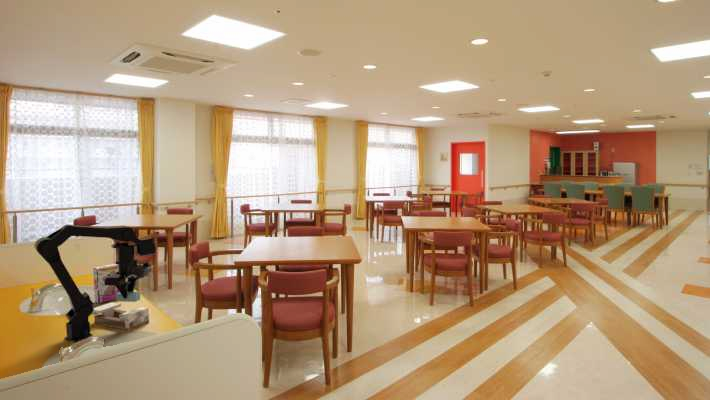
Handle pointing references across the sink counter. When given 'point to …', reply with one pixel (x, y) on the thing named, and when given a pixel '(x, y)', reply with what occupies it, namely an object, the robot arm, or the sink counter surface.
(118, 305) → the sliding cap
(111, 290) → the candy bar box
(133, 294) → the teal rectangular block
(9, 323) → the sink counter surface
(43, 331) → the sink counter surface
